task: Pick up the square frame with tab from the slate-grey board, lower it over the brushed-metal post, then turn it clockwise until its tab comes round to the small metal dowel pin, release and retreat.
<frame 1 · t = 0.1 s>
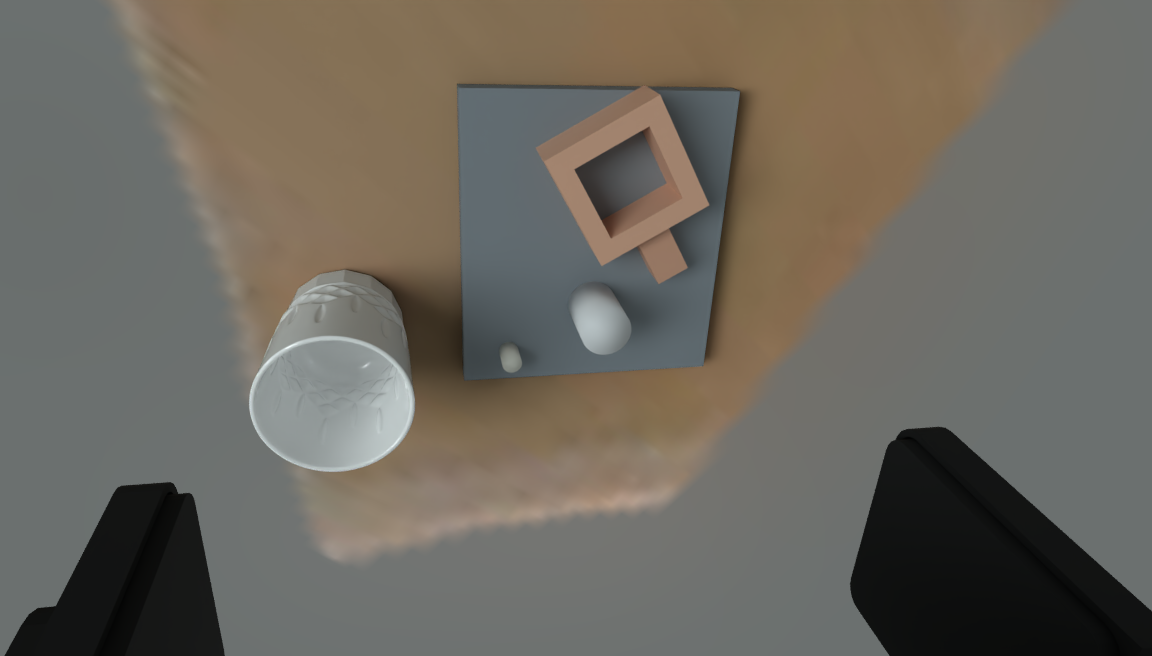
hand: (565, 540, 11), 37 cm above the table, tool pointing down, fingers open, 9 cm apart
board: (590, 236, 48), on the table
white cup: (345, 318, 48), on the table
square frame with tab: (652, 241, 48), point 1 cm above the table, touching board
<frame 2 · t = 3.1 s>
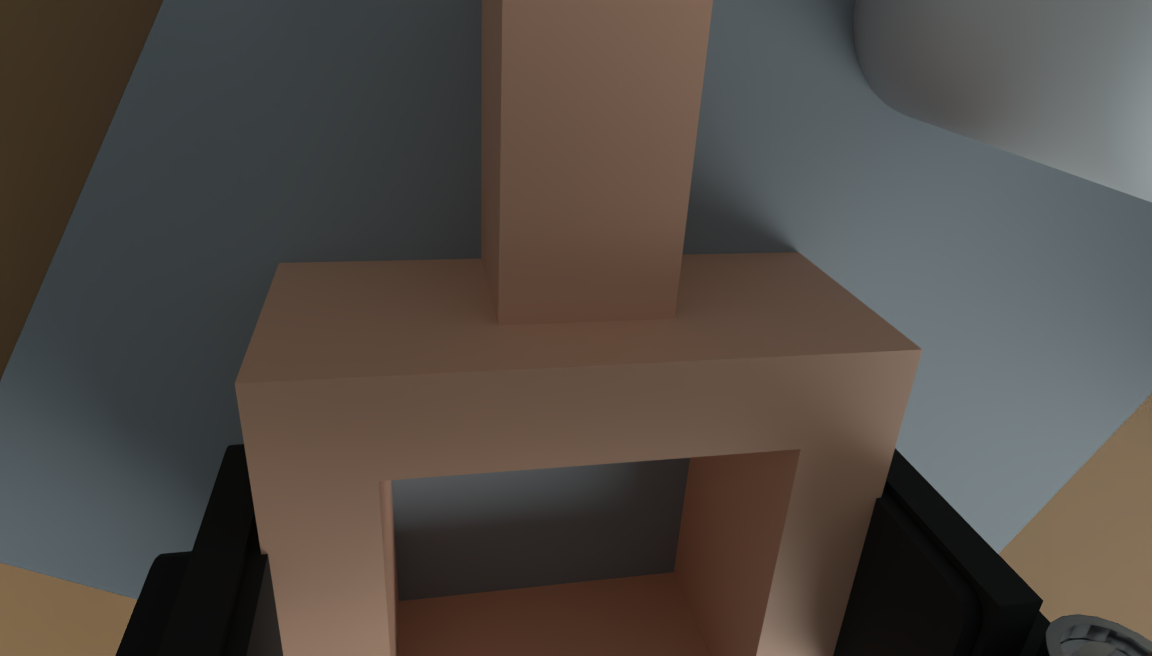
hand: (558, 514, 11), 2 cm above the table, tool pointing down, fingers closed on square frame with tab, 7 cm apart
board: (740, 231, 12), on the table
square frame with tab: (562, 128, 10), point 1 cm above the table, touching board, gripper
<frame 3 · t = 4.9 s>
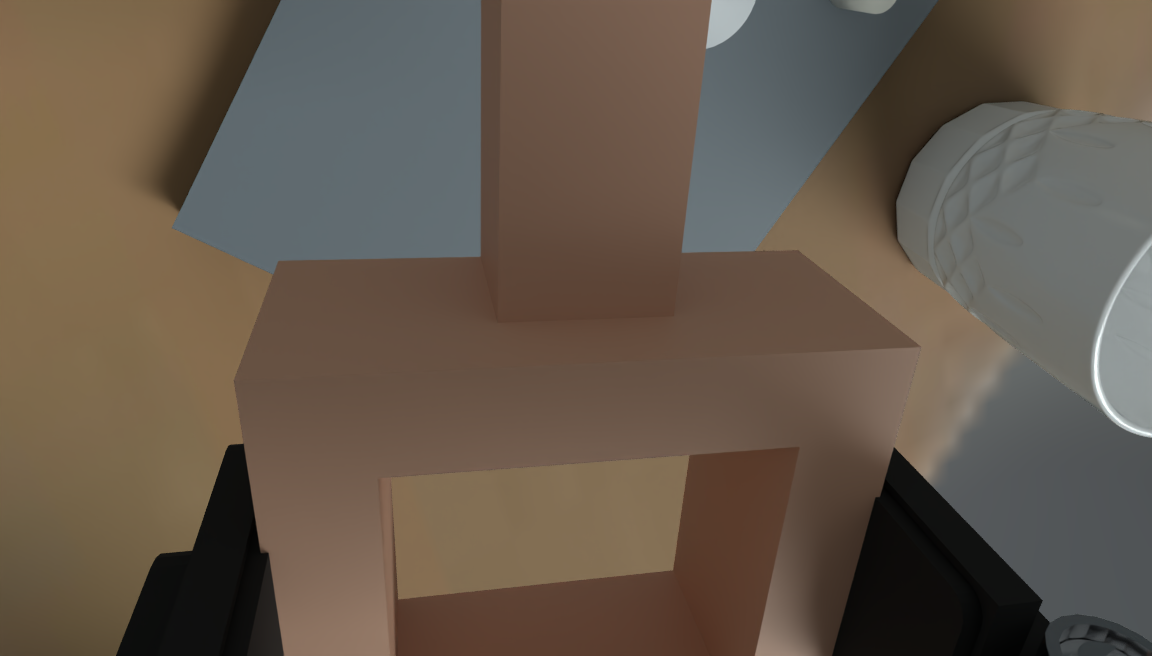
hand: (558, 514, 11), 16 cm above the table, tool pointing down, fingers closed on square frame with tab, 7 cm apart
board: (565, 93, 24), on the table
white cup: (974, 192, 29), on the table
square frame with tab: (561, 126, 10), point 15 cm above the table, touching gripper
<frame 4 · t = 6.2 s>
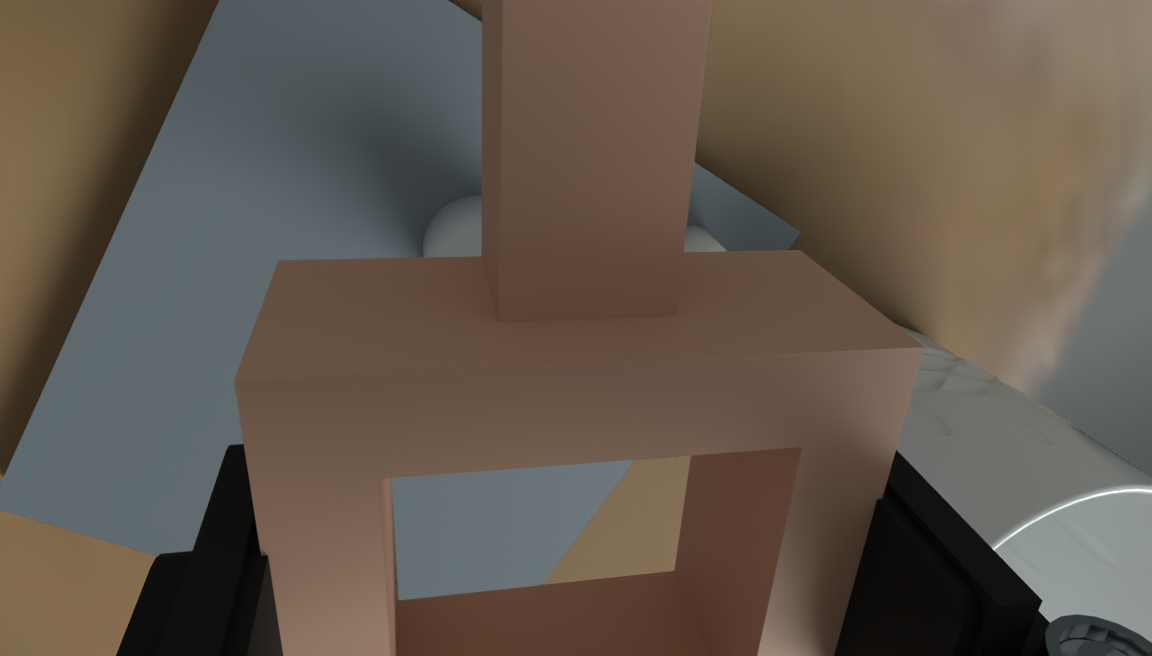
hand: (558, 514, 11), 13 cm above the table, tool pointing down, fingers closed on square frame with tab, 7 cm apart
board: (408, 346, 23), on the table
white cup: (852, 402, 28), on the table
square frame with tab: (563, 125, 10), point 12 cm above the table, touching gripper
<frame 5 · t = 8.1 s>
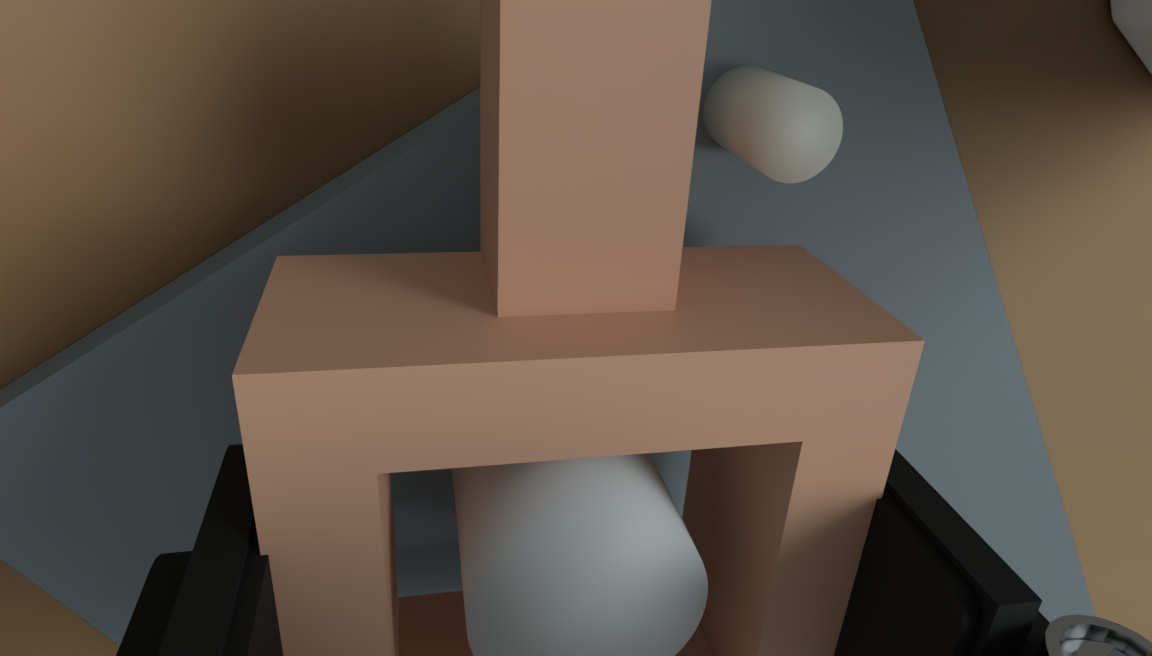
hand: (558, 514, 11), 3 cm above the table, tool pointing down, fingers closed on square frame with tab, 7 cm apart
board: (629, 532, 16), on the table
square frame with tab: (561, 119, 10), point 2 cm above the table, touching gripper
when the fingers open (3 cm above the table, at t = 9.5 s): square frame with tab stays where it is, resting on board.
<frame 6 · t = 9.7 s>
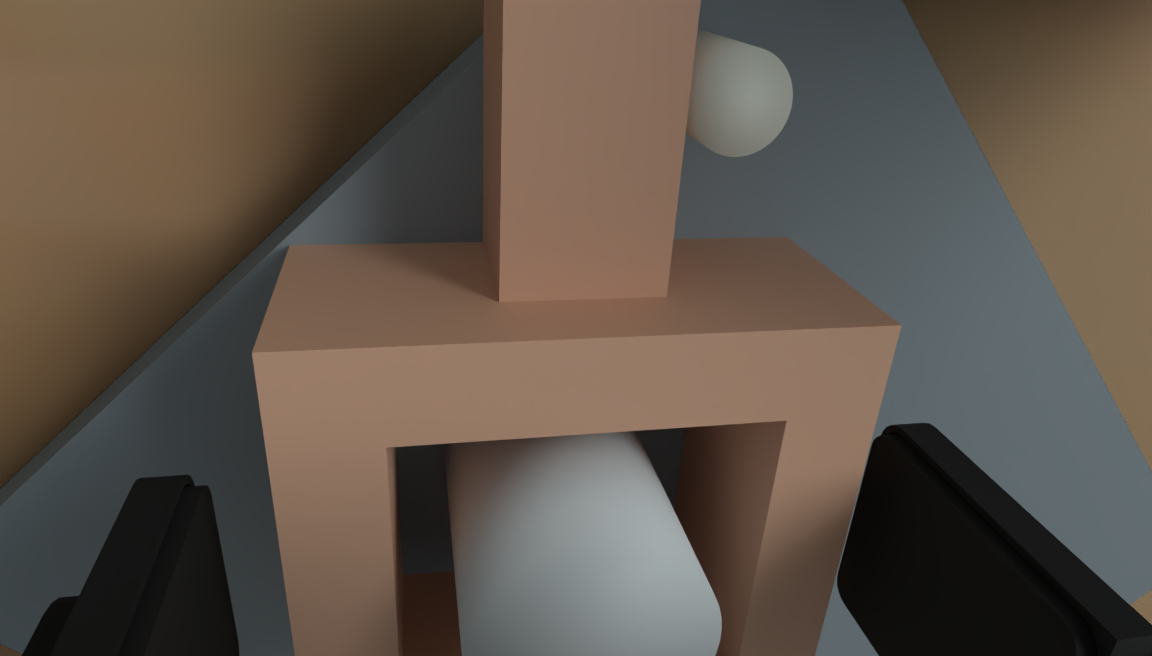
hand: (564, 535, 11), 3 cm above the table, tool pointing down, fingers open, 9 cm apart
board: (663, 530, 15), on the table
square frame with tab: (560, 116, 10), point 1 cm above the table, touching board
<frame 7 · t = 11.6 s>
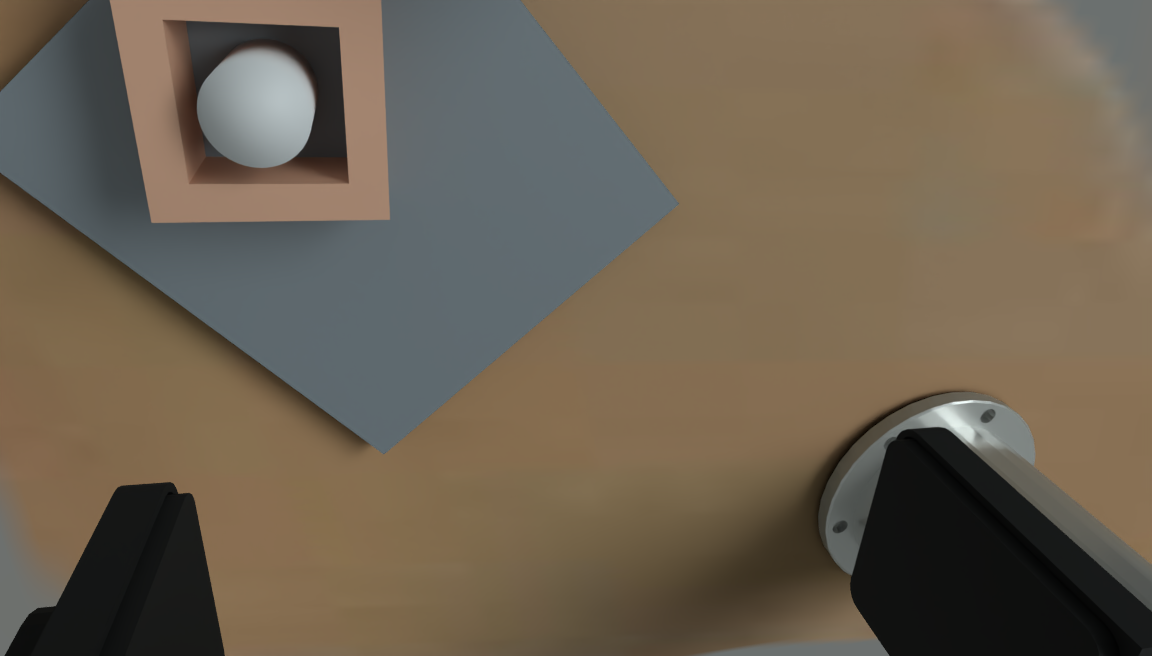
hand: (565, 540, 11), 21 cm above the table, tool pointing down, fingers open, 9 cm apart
board: (361, 165, 28), on the table
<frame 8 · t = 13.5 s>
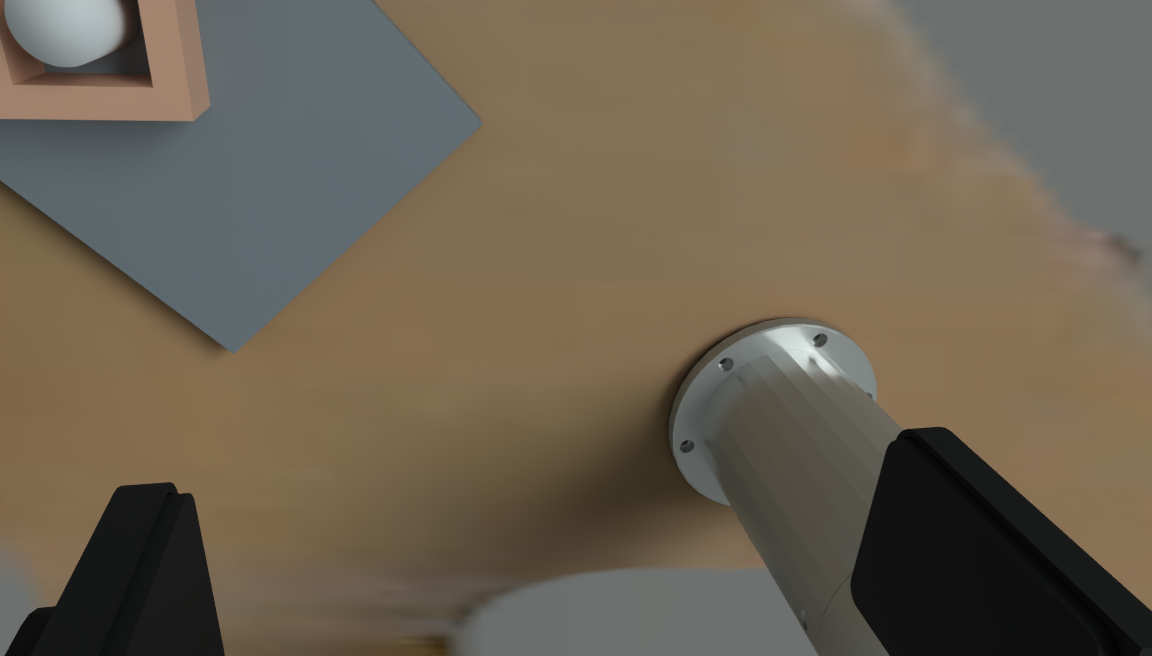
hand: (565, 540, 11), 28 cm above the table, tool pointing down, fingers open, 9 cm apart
board: (192, 86, 33), on the table
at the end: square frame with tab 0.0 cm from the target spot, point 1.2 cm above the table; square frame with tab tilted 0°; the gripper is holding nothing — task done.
